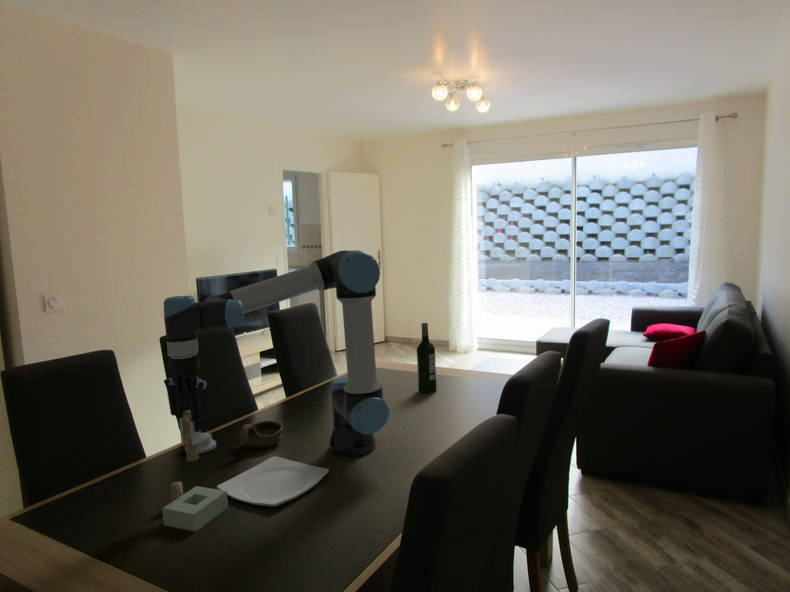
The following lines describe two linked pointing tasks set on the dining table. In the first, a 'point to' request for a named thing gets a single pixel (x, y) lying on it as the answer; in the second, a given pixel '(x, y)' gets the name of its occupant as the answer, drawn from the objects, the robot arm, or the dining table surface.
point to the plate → (273, 482)
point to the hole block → (195, 508)
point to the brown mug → (262, 433)
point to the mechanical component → (205, 443)
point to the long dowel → (189, 438)
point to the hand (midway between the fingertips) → (191, 441)
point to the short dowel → (176, 490)
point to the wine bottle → (426, 363)
